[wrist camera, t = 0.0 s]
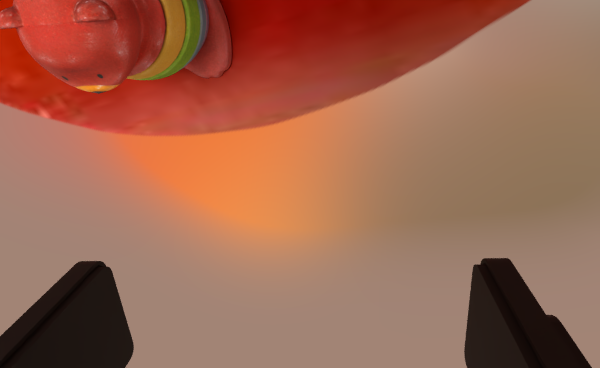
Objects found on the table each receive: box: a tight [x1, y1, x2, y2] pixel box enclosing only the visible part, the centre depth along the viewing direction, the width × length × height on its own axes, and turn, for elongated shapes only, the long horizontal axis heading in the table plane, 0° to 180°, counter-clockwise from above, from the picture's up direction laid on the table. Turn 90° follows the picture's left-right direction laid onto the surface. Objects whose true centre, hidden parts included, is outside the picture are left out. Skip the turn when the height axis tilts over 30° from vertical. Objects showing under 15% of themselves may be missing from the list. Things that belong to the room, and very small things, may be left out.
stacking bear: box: [0, 0, 232, 93], centre depth 30 cm, size 11×10×18 cm
